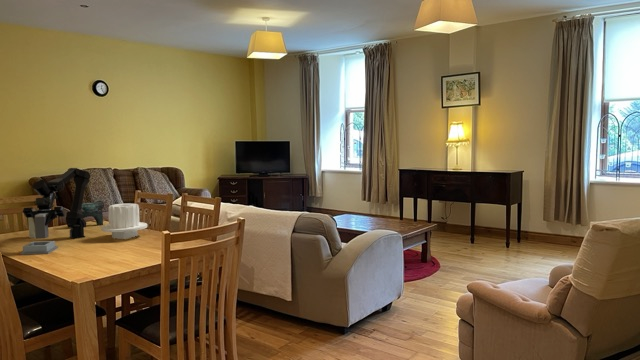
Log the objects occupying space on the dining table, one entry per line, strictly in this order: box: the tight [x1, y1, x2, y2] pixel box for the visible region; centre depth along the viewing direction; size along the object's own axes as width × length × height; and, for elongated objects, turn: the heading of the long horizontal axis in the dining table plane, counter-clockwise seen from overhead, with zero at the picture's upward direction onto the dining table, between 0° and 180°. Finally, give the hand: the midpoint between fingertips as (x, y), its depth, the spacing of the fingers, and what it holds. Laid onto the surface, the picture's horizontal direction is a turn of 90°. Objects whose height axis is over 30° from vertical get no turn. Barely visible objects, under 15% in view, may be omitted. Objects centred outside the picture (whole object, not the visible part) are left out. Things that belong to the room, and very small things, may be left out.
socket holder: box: [19, 240, 59, 256], centre depth 243 cm, size 13×13×4 cm
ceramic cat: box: [81, 195, 105, 227], centre depth 311 cm, size 20×6×20 cm, turn 135°
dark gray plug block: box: [34, 214, 50, 240], centre depth 243 cm, size 4×4×12 cm
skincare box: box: [27, 218, 36, 239], centre depth 279 cm, size 6×4×12 cm
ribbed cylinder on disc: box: [100, 202, 148, 240], centre depth 277 cm, size 25×25×19 cm
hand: (40, 225), depth 241 cm, fingers closed on dark gray plug block, 4 cm apart
